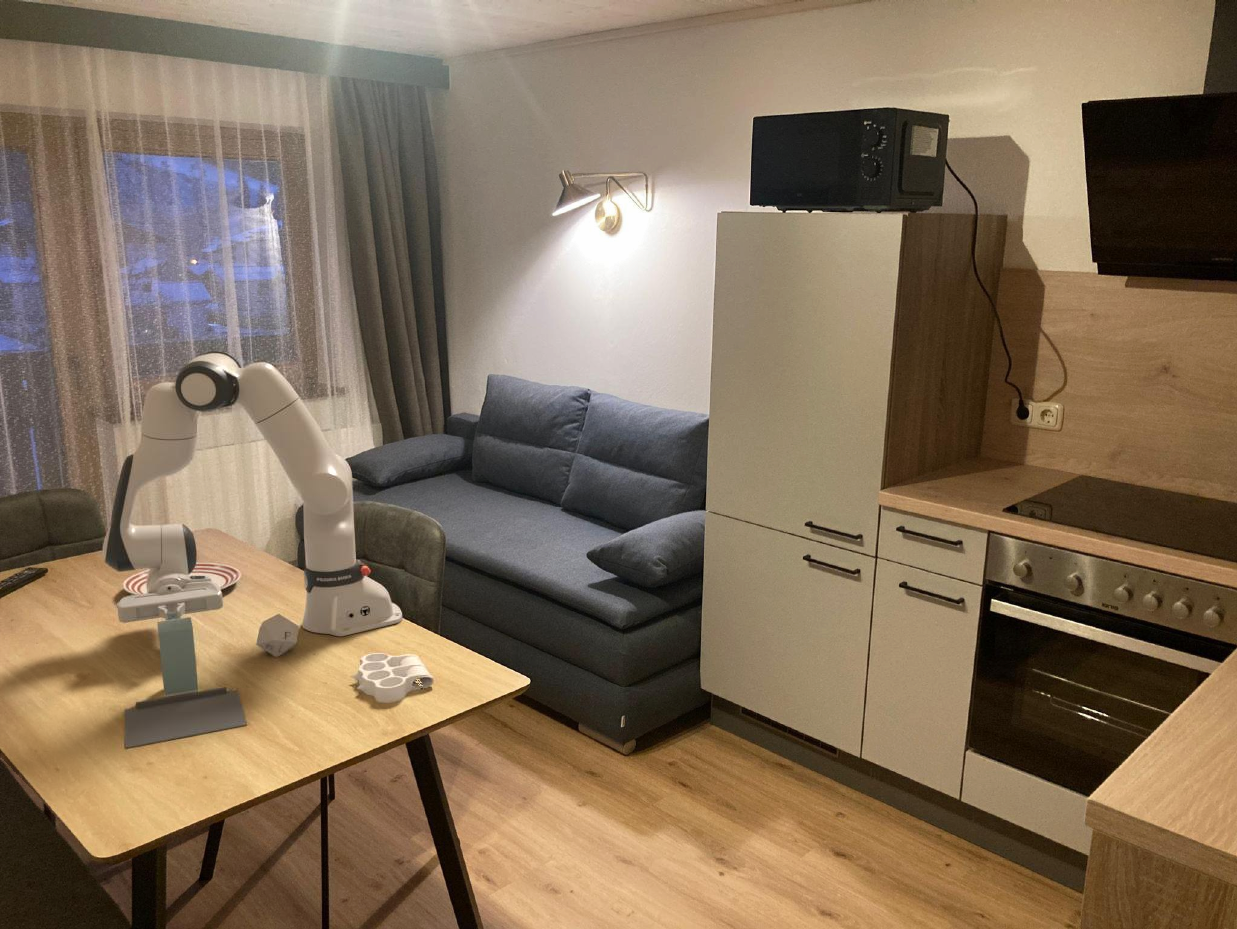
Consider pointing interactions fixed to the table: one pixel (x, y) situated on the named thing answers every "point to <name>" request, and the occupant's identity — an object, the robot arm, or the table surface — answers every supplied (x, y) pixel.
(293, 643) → the die
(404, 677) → the white multi-hole holder
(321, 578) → the robot arm
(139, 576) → the dinner plate
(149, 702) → the charcoal mat
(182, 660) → the block
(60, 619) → the table surface
